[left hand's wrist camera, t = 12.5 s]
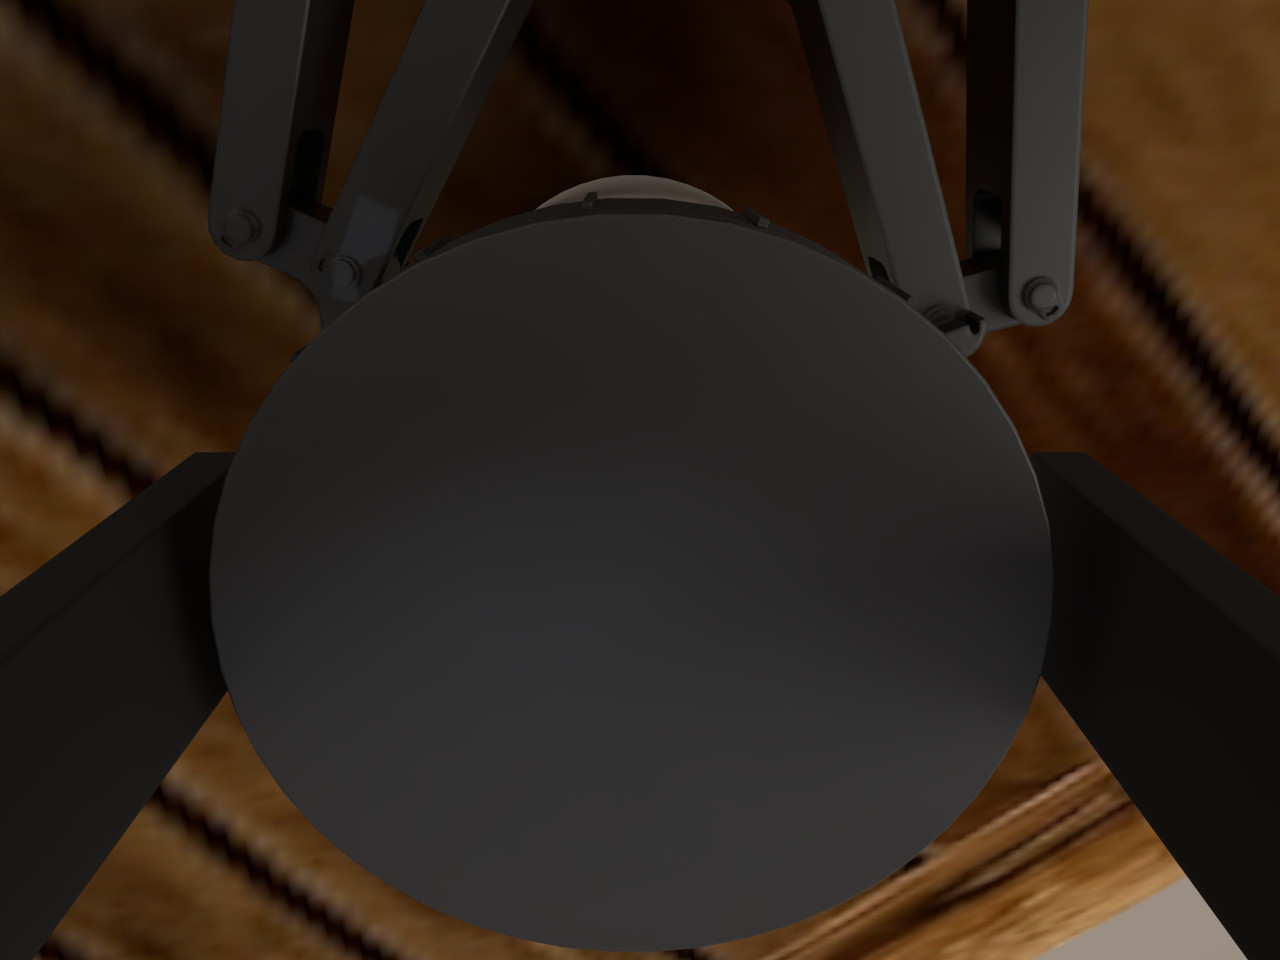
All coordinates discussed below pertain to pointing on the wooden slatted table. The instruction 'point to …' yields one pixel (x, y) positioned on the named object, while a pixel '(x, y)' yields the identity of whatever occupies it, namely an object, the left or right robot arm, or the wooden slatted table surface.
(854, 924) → the wooden slatted table surface
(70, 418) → the wooden slatted table surface
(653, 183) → the jar
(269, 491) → the lid
